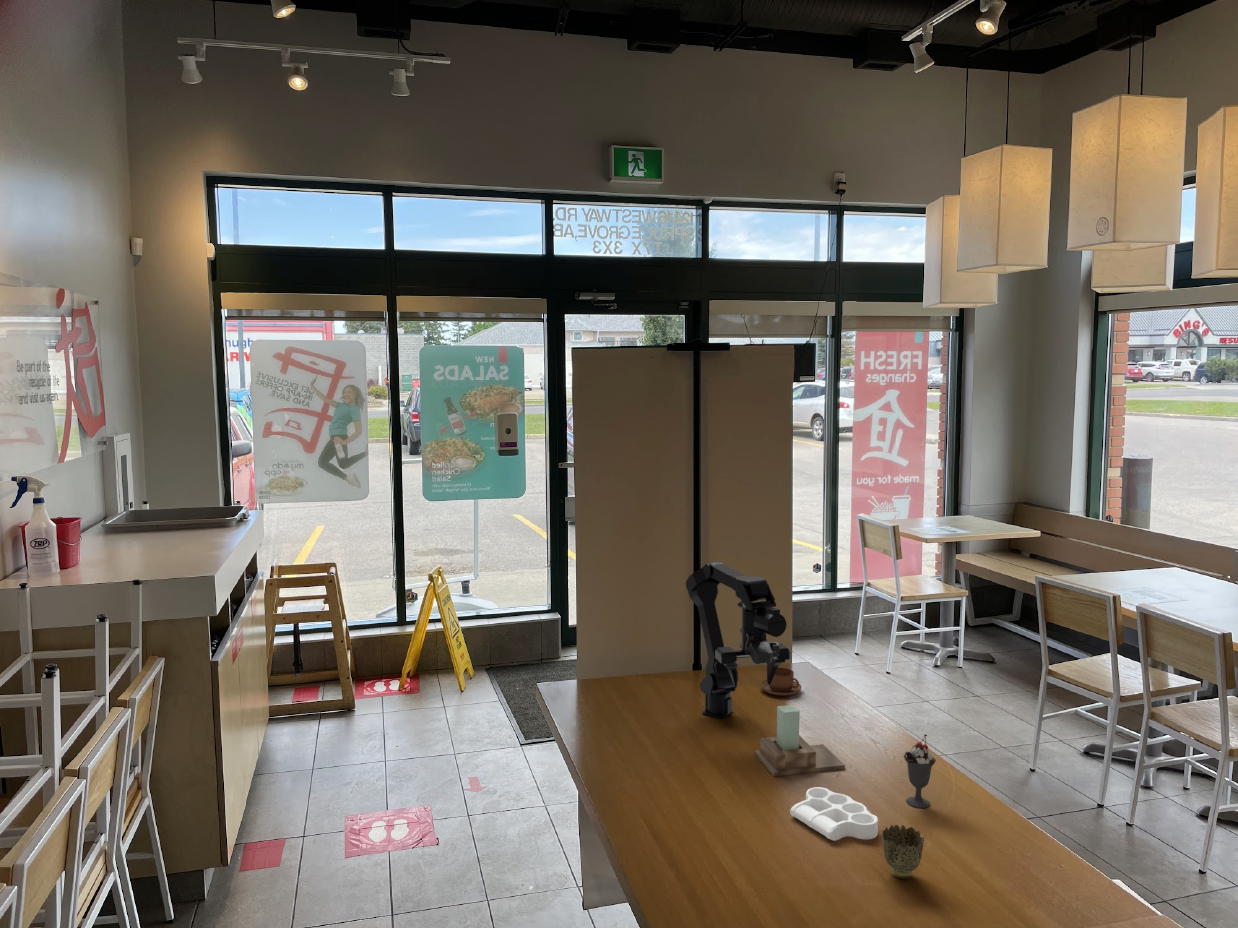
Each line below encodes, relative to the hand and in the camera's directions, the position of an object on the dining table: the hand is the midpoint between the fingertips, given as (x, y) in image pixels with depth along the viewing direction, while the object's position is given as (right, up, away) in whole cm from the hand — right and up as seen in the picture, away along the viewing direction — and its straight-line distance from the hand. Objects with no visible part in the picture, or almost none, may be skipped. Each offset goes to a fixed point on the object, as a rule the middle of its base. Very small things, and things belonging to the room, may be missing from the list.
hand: (752, 685), depth 224 cm
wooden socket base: (+9, -15, -15) cm, 23 cm away
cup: (+18, -20, -63) cm, 68 cm away
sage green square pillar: (+6, -14, -16) cm, 22 cm away
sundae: (+31, -17, -35) cm, 50 cm away
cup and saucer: (+13, -10, +33) cm, 37 cm away
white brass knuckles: (+11, -18, -43) cm, 47 cm away
